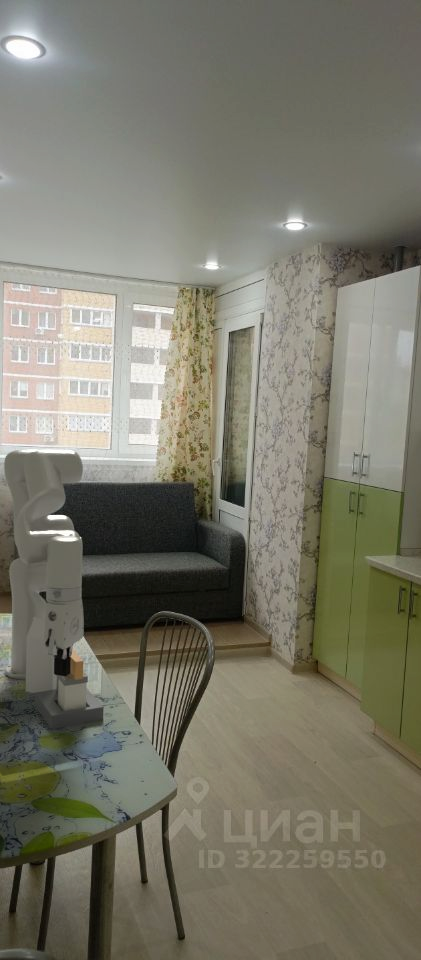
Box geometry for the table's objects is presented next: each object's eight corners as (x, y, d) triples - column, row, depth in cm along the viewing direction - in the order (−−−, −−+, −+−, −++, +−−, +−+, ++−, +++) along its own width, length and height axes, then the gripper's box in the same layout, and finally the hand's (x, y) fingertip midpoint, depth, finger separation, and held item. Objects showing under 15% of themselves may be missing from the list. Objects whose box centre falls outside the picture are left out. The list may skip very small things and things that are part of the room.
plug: (56, 713, 164) (57, 671, 163) (79, 709, 166) (80, 668, 165) (63, 722, 159) (64, 679, 158) (86, 718, 161) (87, 676, 160)
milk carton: (52, 699, 174) (53, 623, 172) (25, 695, 175) (26, 620, 174) (63, 688, 181) (65, 615, 179) (37, 685, 182) (39, 613, 181)
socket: (34, 708, 168) (34, 692, 168) (83, 700, 174) (83, 684, 173) (51, 733, 156) (51, 715, 155) (103, 723, 162) (103, 706, 161)
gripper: (62, 603, 146) (60, 689, 148) (95, 587, 160) (92, 665, 162) (30, 599, 148) (28, 683, 150) (65, 583, 162) (63, 661, 164)
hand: (62, 674), depth 156 cm, fingers closed
